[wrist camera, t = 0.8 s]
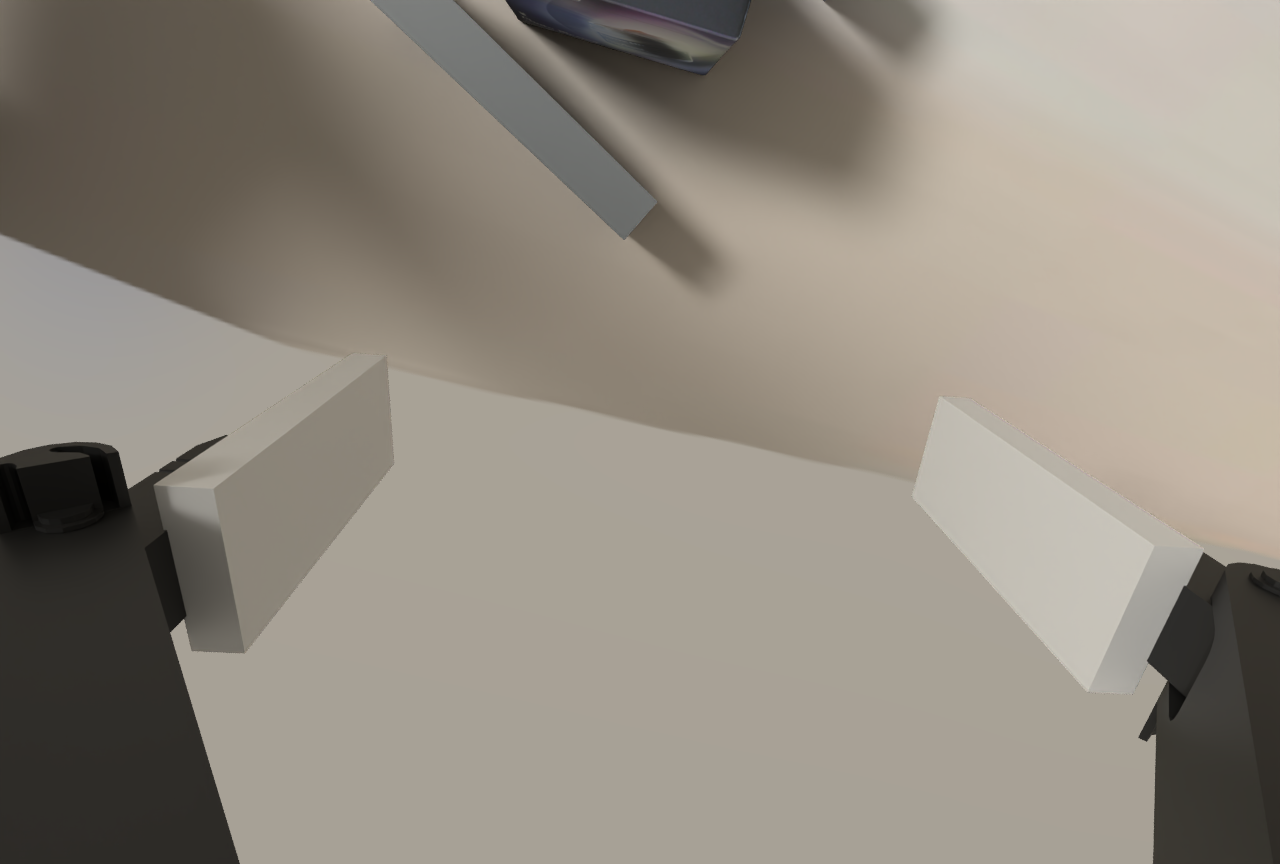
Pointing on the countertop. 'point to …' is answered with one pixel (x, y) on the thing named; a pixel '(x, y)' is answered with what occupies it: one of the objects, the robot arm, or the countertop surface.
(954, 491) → the robot arm
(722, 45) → the small box
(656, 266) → the countertop surface
